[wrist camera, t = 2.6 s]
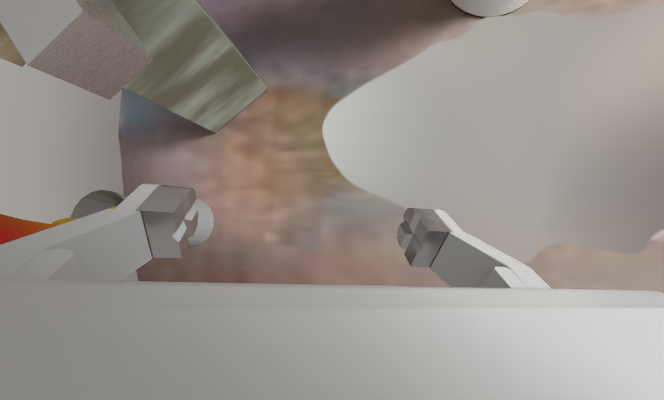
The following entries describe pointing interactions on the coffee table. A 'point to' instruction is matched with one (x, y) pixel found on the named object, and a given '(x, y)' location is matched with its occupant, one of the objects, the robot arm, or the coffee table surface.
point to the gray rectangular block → (76, 41)
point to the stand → (182, 62)
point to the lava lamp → (13, 228)
